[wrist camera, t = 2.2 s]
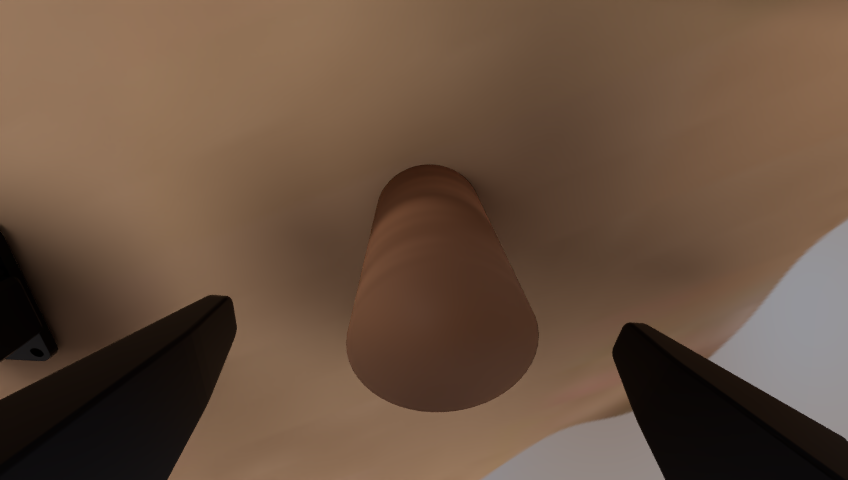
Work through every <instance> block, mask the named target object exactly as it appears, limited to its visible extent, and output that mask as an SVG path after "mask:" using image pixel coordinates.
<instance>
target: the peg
mask: <svg viewBox="0 0 848 480" xmlns="http://www.w3.org/2000/svg"><path fill="white" fill-rule="evenodd" d="M538 338H539V333H538V325H537V321H536V317H535V315H534V313H533V311H532V309H531V307H530V304H529V302H528V300H527V298H526V296H525V294H524V292H523V290H522V288H521V286H520V284H519V282H518V279H517V277H516V275H515V273H514V271H513V269H512V267H511V265H510V263H509V261H508V259H507V257H506V254H505V252H504V250H503V248H502V246H501V244H500V242H499V240H498V238H497V236H496V234H495V232H494V229H493V227H492V225H491V223H490V221H489V219H488V217H487V215H486V213H485V211H484V209H483V207H482V205H481V202H480V200H479V198H478V196H477V194H476V192H475V190H474V188H473V187H472V185H471V184H470V183H469V182H468V181H467V179H465V178H464V177H463V176H462V175H461V174H459V173H457V172H456V171H454V170H452V169H450V168H447V167H443V166H439V165H420V166H415V167H412V168H409V169H406V170H404V171H403V172H401V173H399V174H398V175H396V176H395V177H394V178H393V179H392V180H390V181H389V183H388V184H387V185H386V186H385V188H384V189H383V191H382V193H381V195H380V197H379V200H378V204H377V208H376V212H375V217H374V221H373V225H372V229H371V234H370V238H369V242H368V247H367V251H366V255H365V259H364V264H363V268H362V272H361V276H360V281H359V285H358V289H357V294H356V298H355V302H354V306H353V311H352V315H351V319H350V323H349V328H348V332H347V340H346V346H347V355H348V358H349V362H350V364H351V367H352V369H353V371H354V372H355V374H356V375H357V377H358V378H359V380H360V381H361V382H362V383H363V384H364V385H365V386H366V387H367V388H368V389H369V390H370V391H372V392H373V393H374V394H376V395H377V396H379V397H380V398H382V399H384V400H386V401H388V402H390V403H393V404H395V405H398V406H401V407H404V408H408V409H412V410H417V411H425V412H449V411H457V410H463V409H467V408H471V407H475V406H478V405H480V404H483V403H486V402H488V401H490V400H492V399H494V398H496V397H498V396H499V395H501V394H503V393H504V392H506V391H507V390H508V389H510V388H511V387H512V386H513V385H515V384H516V383H517V382H518V381H519V380H520V379H521V378H522V376H523V375H524V374H525V373H526V371H527V370H528V368H529V367H530V365H531V363H532V361H533V359H534V357H535V354H536V350H537V346H538Z"/></svg>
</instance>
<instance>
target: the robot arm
mask: <svg viewBox="0 0 848 480" xmlns="http://www.w3.org/2000/svg"><path fill="white" fill-rule="evenodd" d="M236 330H237V325H236V319H235V313H234V307H233V302H232V299H231V298H230V297H229V296H221V295H209V296H206V297H204V298H202V299H200V300H198V301H196V302H194V303H192V304H190V305H188V306H186V307H184V308H182V309H180V310H178V311H176V312H174V313H172V314H170V315H168V316H166V317H164V318H162V319H160V320H159V321H157V322H155V323H153V324H151V325H149V326H147V327H145V328H143V329H141V330H139V331H137V332H135V333H133V334H131V335H129V336H127V337H125V338H123V339H121V340H119V341H117V342H115V343H113V344H111V345H109V346H107V347H105V348H103V349H101V350H99V351H97V352H95V353H93V354H91V355H89V356H87V357H85V358H83V359H81V360H79V361H77V362H75V363H73V364H71V365H69V366H67V367H65V368H63V369H61V370H59V371H57V372H55V373H53V374H51V375H49V376H47V377H45V378H43V379H41V380H39V381H37V382H35V383H33V384H31V385H29V386H27V387H25V388H23V389H21V390H19V391H17V392H15V393H13V394H11V395H9V396H7V397H5V398H3V399H1V400H0V480H167V479H168V477H169V476H170V474H171V472H172V470H173V468H174V466H175V464H176V462H177V461H178V459H179V457H180V455H181V453H182V451H183V449H184V447H185V446H186V444H187V442H188V440H189V438H190V436H191V434H192V432H193V431H194V429H195V427H196V425H197V423H198V421H199V419H200V418H201V416H202V414H203V412H204V410H205V408H206V406H207V404H208V402H209V399H210V397H211V395H212V393H213V390H214V388H215V385H216V383H217V380H218V378H219V375H220V373H221V370H222V368H223V365H224V363H225V360H226V358H227V355H228V353H229V351H230V348H231V346H232V343H233V341H234V338H235V335H236ZM57 351H58V346H57V344H56V342H55V340H54V338H53V336H52V334H51V332H50V330H49V328H48V326H47V324H46V322H45V320H44V317H43V315H42V313H41V311H40V309H39V307H38V305H37V303H36V301H35V299H34V297H33V295H32V293H31V291H30V289H29V287H28V285H27V283H26V280H25V278H24V276H23V274H22V272H21V270H20V268H19V266H18V264H17V262H16V260H15V258H14V256H13V254H12V252H11V250H10V248H9V246H8V244H7V241H6V239H5V237H4V236H3V234H2V233H1V232H0V362H1V361H3V360H4V359H13V360H32V361H46V360H48V359H49V358H51V357H52V356H53V355H54V354H55V353H57ZM612 355H613V359H614V362H615V365H616V367H617V370H618V373H619V375H620V378H621V381H622V383H623V386H624V389H625V391H626V394H627V396H628V399H629V402H630V404H631V407H632V410H633V412H634V415H635V417H636V420H637V422H638V424H639V426H640V428H641V430H642V432H643V435H644V437H645V439H646V441H647V443H648V445H649V447H650V449H651V451H652V453H653V455H654V457H655V459H656V461H657V463H658V465H659V468H660V470H661V472H662V474H663V476H664V478H665V480H848V441H847V440H846V439H845V438H844V437H842V436H840V435H839V434H837V433H835V432H833V431H832V430H830V429H828V428H826V427H825V426H823V425H821V424H819V423H818V422H816V421H814V420H812V419H810V418H809V417H807V416H805V415H804V414H802V413H800V412H798V411H797V410H795V409H793V408H791V407H790V406H788V405H786V404H784V403H783V402H781V401H779V400H778V399H776V398H774V397H772V396H771V395H769V394H767V393H765V392H764V391H762V390H760V389H758V388H757V387H755V386H753V385H751V384H750V383H748V382H746V381H744V380H743V379H741V378H739V377H738V376H736V375H734V374H732V373H731V372H729V371H727V370H725V369H724V368H722V367H720V366H718V365H717V364H715V363H713V362H711V361H710V360H708V359H706V358H704V357H703V356H701V355H699V354H697V353H696V352H694V351H692V350H690V349H689V348H687V347H685V346H683V345H682V344H680V343H678V342H676V341H675V340H673V339H671V338H670V337H668V336H666V335H664V334H663V333H661V332H659V331H657V330H656V329H654V328H652V327H650V326H649V325H647V324H644V323H632V322H629V323H626V324H625V325H624V326H623V327H622V330H621V332H620V334H619V336H618V338H617V340H616V342H615V344H614V347H613V351H612Z"/></svg>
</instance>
